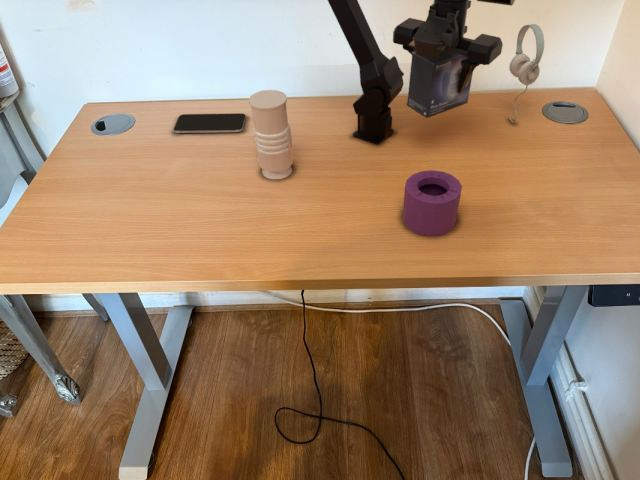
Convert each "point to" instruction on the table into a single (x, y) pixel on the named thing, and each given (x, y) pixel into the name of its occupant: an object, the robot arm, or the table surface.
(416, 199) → the jar
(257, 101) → the beige ribbed cylinder
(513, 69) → the headphones
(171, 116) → the table surface
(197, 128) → the smartphone
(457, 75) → the small box
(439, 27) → the robot arm
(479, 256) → the table surface
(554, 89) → the table surface
